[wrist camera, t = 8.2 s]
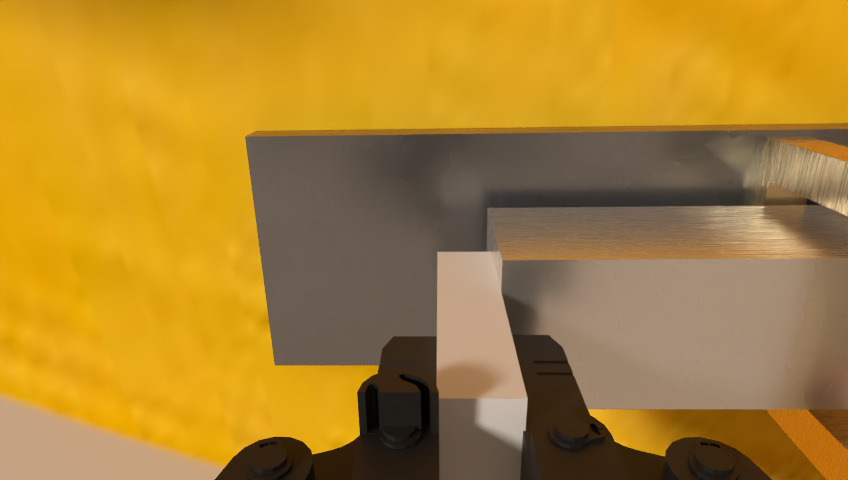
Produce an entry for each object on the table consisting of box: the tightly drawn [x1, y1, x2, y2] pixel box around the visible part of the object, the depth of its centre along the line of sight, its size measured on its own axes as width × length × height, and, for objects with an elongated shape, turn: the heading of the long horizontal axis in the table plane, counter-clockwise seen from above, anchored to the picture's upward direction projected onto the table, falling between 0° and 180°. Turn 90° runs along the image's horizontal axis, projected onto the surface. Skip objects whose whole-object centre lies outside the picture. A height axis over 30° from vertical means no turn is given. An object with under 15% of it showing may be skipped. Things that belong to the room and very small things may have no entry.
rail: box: [245, 123, 848, 480], centre depth 15 cm, size 32×8×8 cm, turn 91°
